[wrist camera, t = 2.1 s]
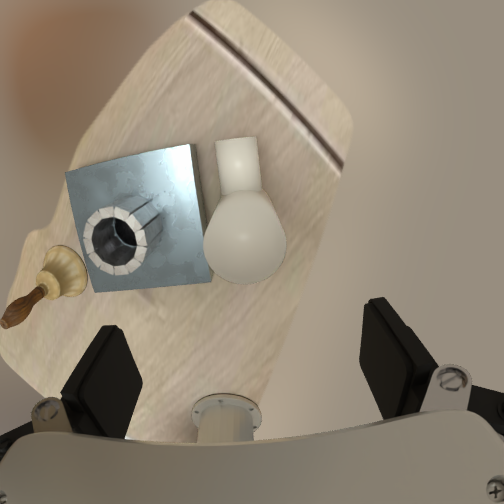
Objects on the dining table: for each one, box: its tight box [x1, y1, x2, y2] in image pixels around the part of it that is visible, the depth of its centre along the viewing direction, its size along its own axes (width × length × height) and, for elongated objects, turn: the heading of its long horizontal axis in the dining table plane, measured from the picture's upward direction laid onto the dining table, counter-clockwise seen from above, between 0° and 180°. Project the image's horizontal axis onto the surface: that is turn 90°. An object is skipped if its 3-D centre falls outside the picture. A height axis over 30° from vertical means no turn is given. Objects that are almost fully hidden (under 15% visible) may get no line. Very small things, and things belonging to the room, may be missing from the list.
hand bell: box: [0, 245, 87, 329], centre depth 32 cm, size 8×8×16 cm
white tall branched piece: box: [203, 136, 286, 284], centre depth 29 cm, size 11×6×16 cm, turn 7°
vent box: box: [65, 144, 214, 293], centre depth 33 cm, size 16×16×10 cm
